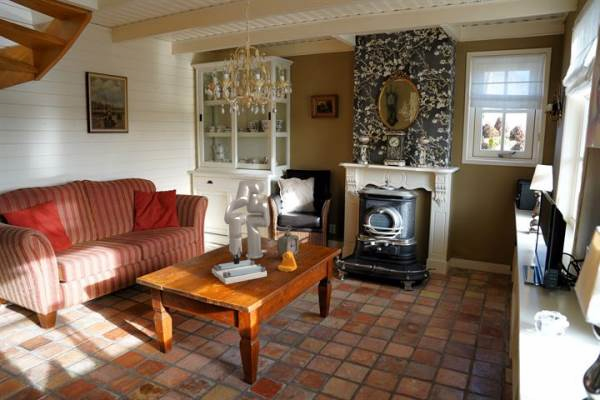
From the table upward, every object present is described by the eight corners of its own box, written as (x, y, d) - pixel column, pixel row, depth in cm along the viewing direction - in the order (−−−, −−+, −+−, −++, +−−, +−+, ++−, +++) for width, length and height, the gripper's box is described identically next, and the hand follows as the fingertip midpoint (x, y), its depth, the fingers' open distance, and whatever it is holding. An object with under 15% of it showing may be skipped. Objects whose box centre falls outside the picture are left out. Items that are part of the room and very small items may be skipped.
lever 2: (259, 268, 295) (259, 265, 294) (262, 271, 291) (262, 268, 290) (227, 274, 284) (227, 271, 283) (230, 276, 279) (230, 273, 279)
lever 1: (249, 262, 308) (249, 259, 308) (252, 264, 304) (252, 261, 304) (218, 267, 297) (218, 264, 297) (221, 269, 293) (221, 266, 293)
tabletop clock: (286, 263, 317) (286, 228, 313) (276, 260, 323) (276, 226, 319) (299, 258, 329) (298, 224, 325) (289, 256, 334) (288, 222, 330)
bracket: (277, 270, 302) (277, 252, 300) (282, 267, 308) (282, 250, 306) (291, 272, 297) (291, 255, 295) (296, 269, 303) (296, 252, 301)
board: (251, 266, 311) (250, 257, 310) (266, 276, 291) (266, 267, 290) (211, 273, 297) (211, 264, 296) (225, 284, 277) (225, 274, 276)
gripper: (225, 233, 284) (226, 261, 288) (234, 239, 272) (235, 268, 275) (236, 231, 288) (237, 259, 292) (246, 237, 276) (247, 266, 279)
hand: (236, 263), depth 284 cm, fingers closed
